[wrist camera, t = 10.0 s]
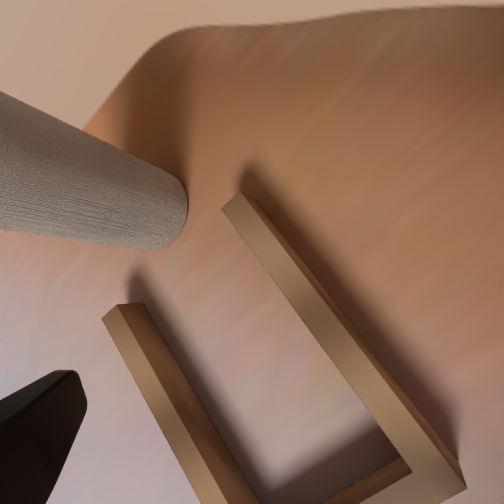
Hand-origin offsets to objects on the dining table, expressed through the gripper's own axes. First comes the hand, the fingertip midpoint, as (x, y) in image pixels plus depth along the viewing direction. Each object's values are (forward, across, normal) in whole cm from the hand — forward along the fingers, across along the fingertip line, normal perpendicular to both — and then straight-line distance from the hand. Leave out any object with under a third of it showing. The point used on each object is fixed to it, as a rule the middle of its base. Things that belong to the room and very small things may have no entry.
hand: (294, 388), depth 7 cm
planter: (+14, +8, 0) cm, 16 cm away
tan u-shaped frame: (+8, +2, +7) cm, 11 cm away
